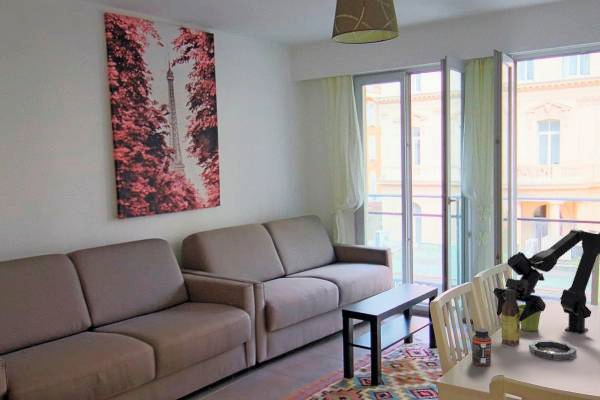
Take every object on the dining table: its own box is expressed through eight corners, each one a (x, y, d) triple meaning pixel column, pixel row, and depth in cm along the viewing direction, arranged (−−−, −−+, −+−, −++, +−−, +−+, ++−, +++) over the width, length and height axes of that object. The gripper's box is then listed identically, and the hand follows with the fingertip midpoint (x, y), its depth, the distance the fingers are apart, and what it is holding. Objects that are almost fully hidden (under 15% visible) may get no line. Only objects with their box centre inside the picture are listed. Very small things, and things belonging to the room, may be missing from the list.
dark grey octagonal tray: (540, 343, 210) (540, 337, 210) (581, 352, 200) (581, 346, 200) (523, 353, 200) (523, 347, 200) (565, 363, 190) (565, 356, 190)
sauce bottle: (521, 346, 207) (521, 291, 205) (502, 345, 208) (503, 291, 207) (518, 340, 213) (518, 287, 212) (500, 339, 215) (500, 286, 213)
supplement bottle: (488, 367, 188) (488, 333, 187) (469, 364, 191) (470, 330, 190) (492, 361, 193) (493, 328, 192) (474, 358, 196) (475, 326, 195)
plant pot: (512, 329, 226) (512, 307, 225) (522, 323, 233) (523, 302, 232) (536, 334, 220) (536, 312, 219) (546, 328, 226) (546, 306, 226)
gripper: (496, 266, 218) (477, 299, 213) (541, 274, 203) (521, 310, 198) (509, 283, 224) (490, 316, 218) (554, 292, 208) (535, 328, 203)
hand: (508, 317), depth 209 cm, fingers open, 9 cm apart
